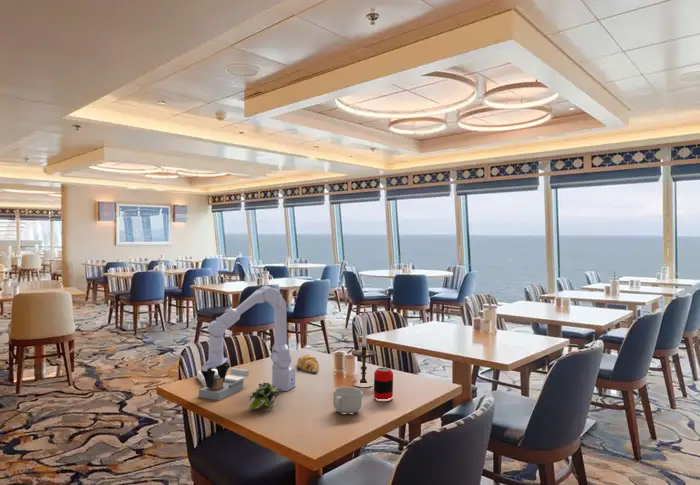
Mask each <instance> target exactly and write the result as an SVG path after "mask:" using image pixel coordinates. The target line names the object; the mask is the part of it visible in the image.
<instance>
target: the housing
mask: <svg viewBox="0 0 700 485" xmlns="http://www.w3.org/2000/svg"><path fill="white" fill-rule="evenodd" d="M244 381H245V380H244V379H241V380H239V381H237V382H230V381H224V382H223V389H220V390H218V391H212V390H209V388H208V387H207V386H203V387H201V388H199V389H198V398H203V399H208V400H214V401H222V400H223V399H225V398H227V397H230V396H231V395H234V394H236V393H238V392H240V391H241V390H244Z"/></svg>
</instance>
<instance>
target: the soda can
mask: <svg viewBox="0 0 700 485" xmlns="http://www.w3.org/2000/svg"><path fill="white" fill-rule="evenodd" d="M373 382H374V386H373V398H374V397H375V398H377V399H388V398H391V397H392V396H393V397H394V392H393V391H394V372H393V371H392V369H391V368H390V367H389V368H388V367H378V368H376V369H375V370H374V377H373Z"/></svg>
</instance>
